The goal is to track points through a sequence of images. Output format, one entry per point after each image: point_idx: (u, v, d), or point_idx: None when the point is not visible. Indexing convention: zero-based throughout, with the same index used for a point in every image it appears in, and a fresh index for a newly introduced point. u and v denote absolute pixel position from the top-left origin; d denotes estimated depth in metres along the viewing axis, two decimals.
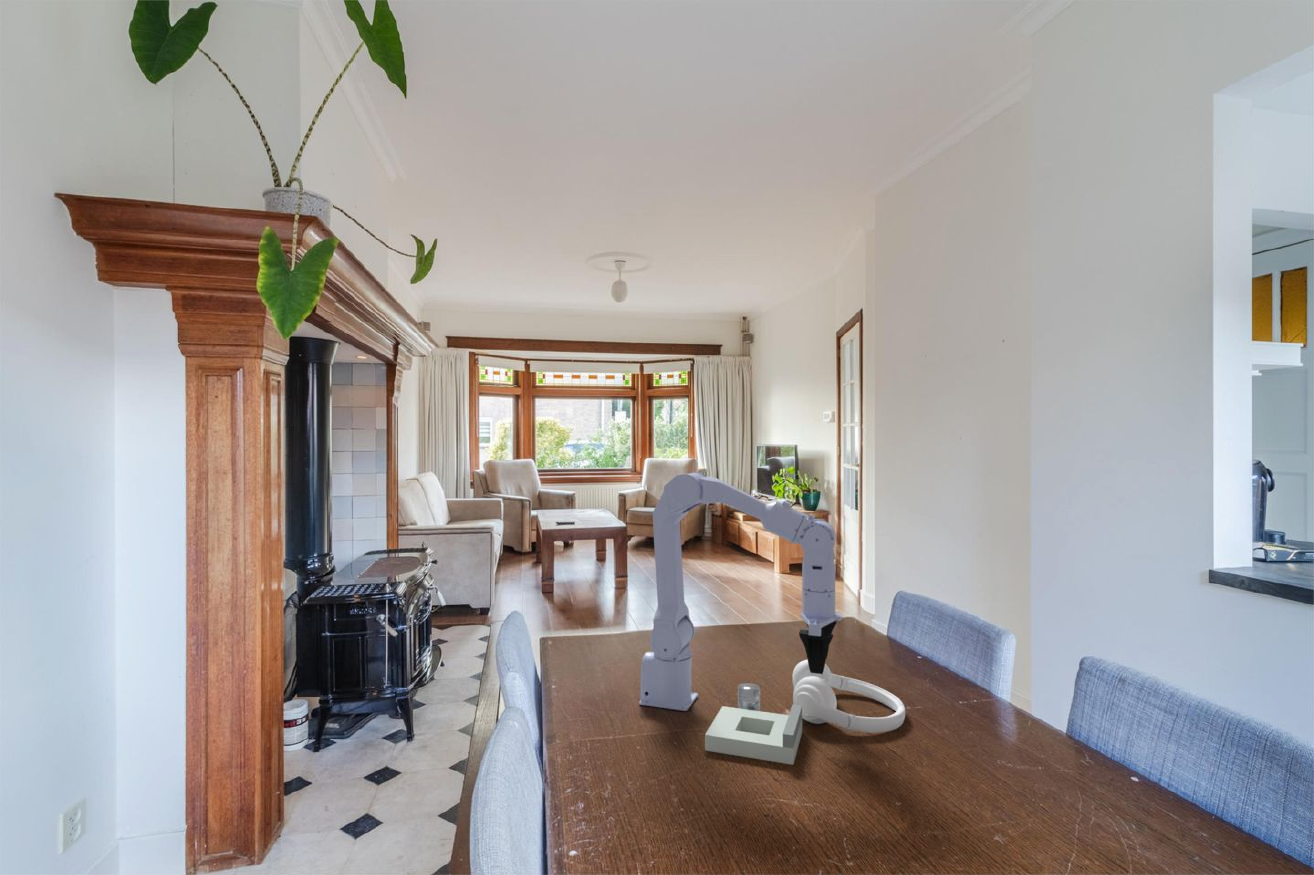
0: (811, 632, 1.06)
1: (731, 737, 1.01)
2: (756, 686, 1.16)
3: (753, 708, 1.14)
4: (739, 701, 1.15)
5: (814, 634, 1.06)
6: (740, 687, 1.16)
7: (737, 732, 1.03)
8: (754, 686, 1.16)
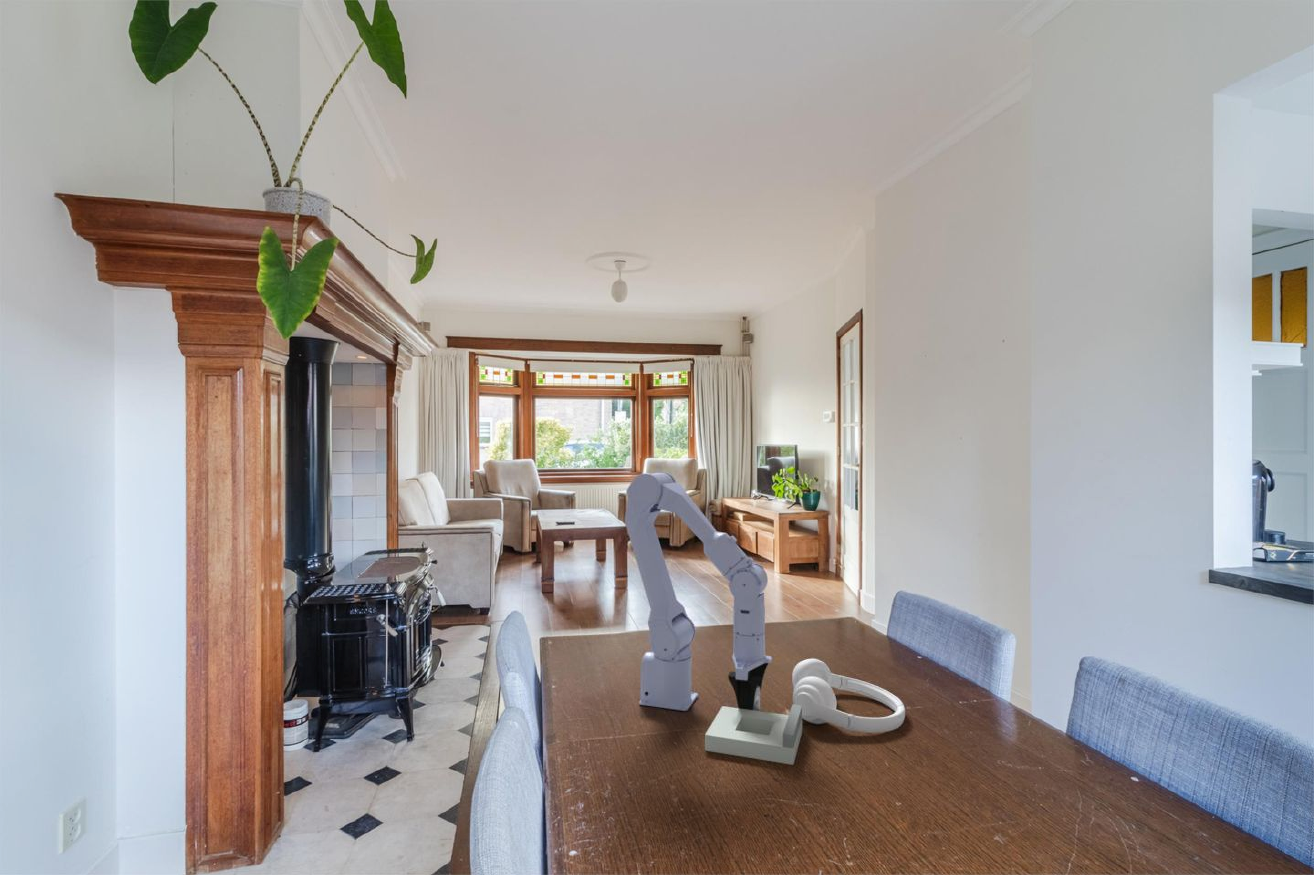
0: (738, 676, 1.09)
1: (731, 737, 1.01)
2: None
3: (753, 708, 1.14)
4: None
5: (740, 678, 1.09)
6: None
7: (737, 732, 1.03)
8: None
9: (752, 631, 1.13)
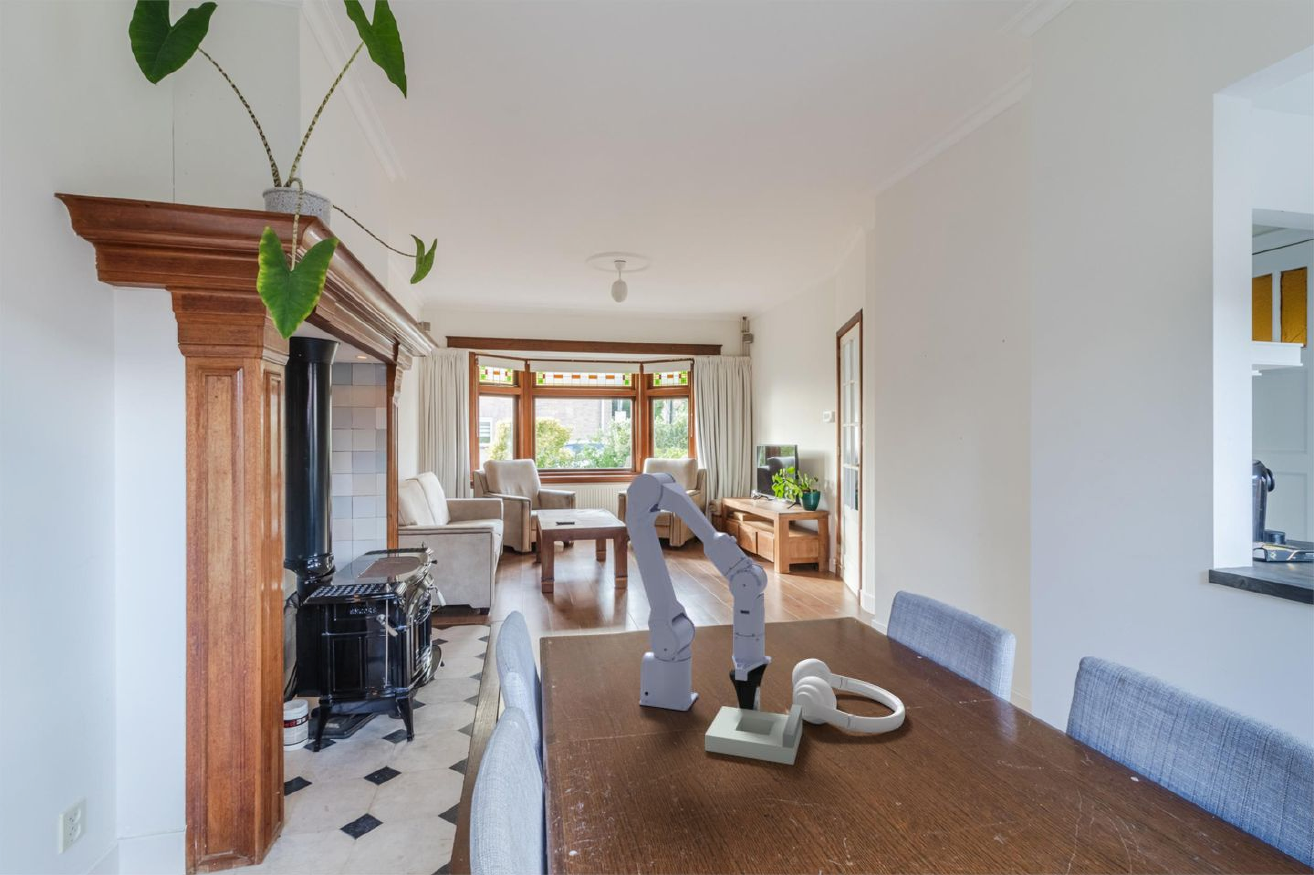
0: (737, 676, 1.09)
1: (731, 737, 1.01)
2: None
3: (753, 708, 1.14)
4: None
5: (740, 678, 1.09)
6: None
7: (737, 732, 1.03)
8: None
9: (752, 631, 1.13)
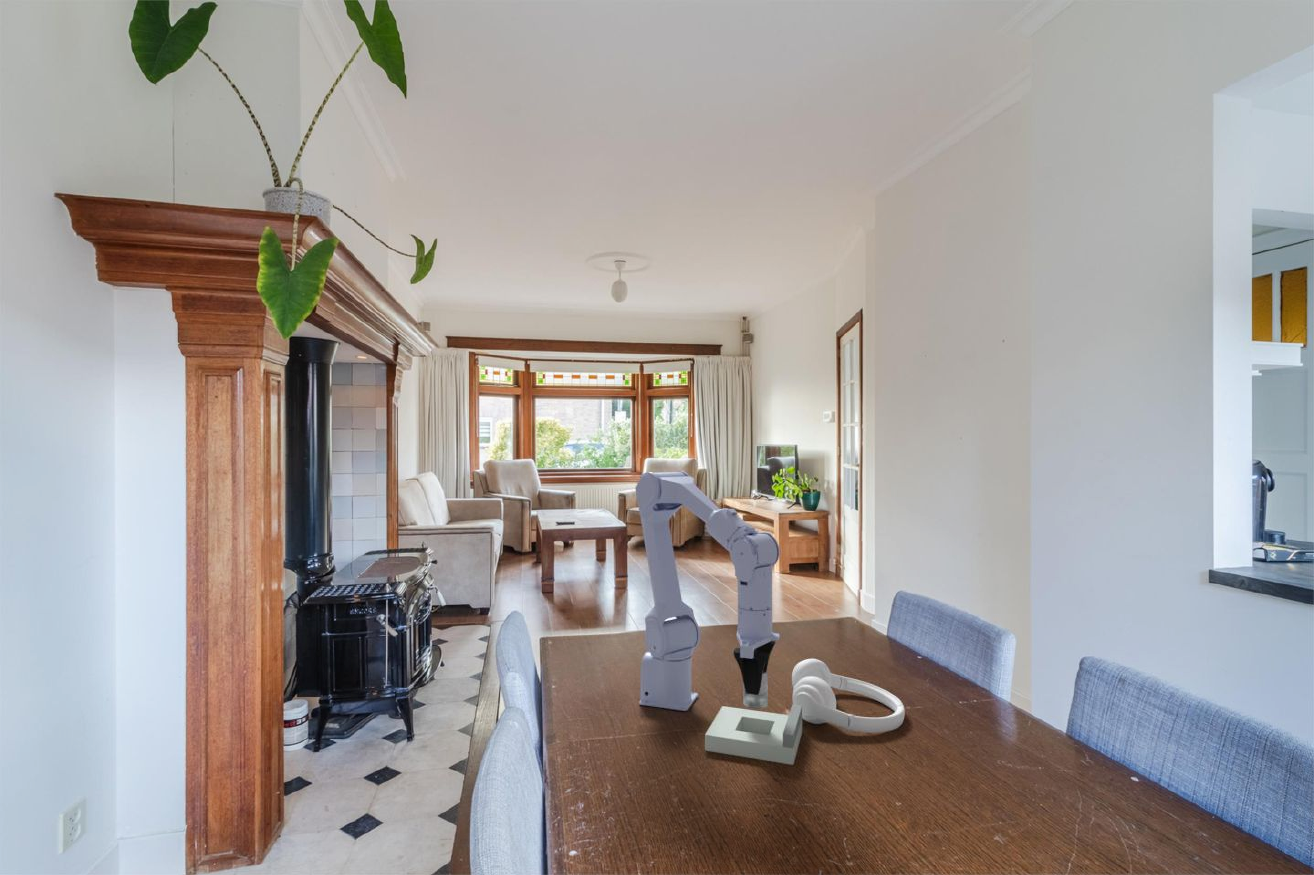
0: (743, 654, 0.99)
1: (731, 737, 1.01)
2: (763, 673, 1.06)
3: (759, 696, 1.03)
4: (744, 688, 1.05)
5: (746, 656, 0.99)
6: None
7: (737, 732, 1.03)
8: None
9: (750, 605, 1.03)
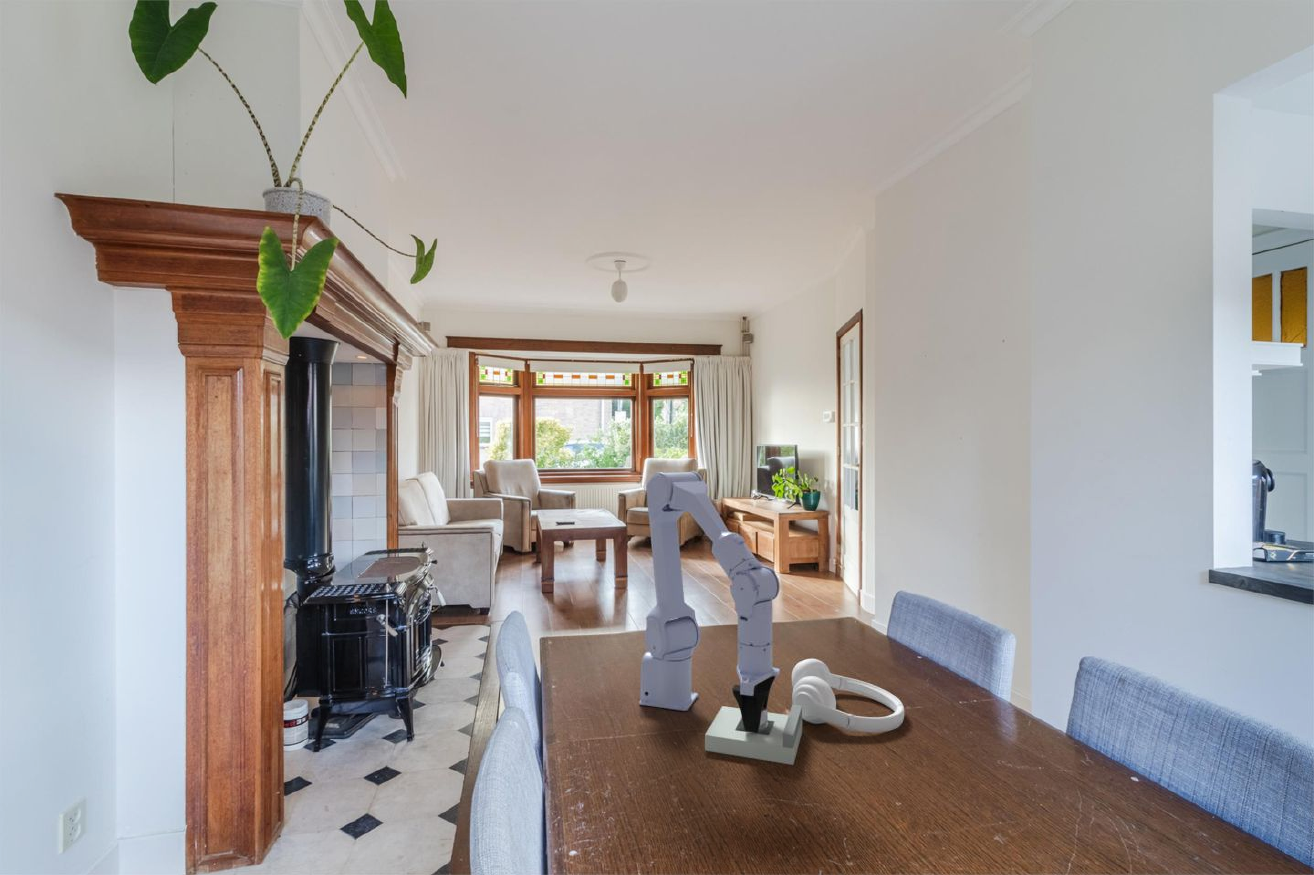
0: (743, 691, 0.99)
1: (731, 737, 1.01)
2: (764, 710, 1.06)
3: None
4: None
5: (746, 693, 0.99)
6: None
7: (737, 732, 1.03)
8: (762, 710, 1.06)
9: (750, 640, 1.03)
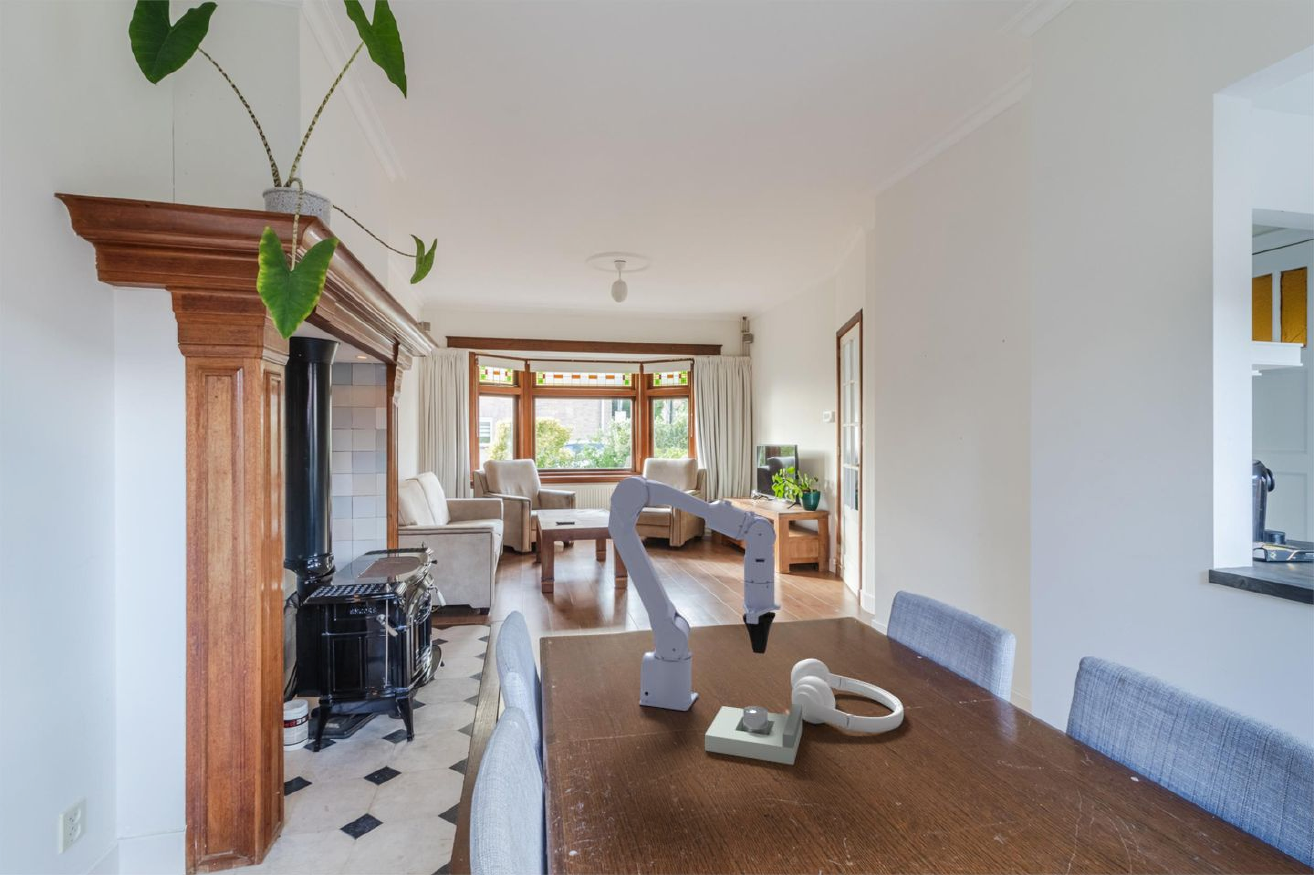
0: (749, 620, 1.14)
1: (731, 737, 1.01)
2: (764, 710, 1.06)
3: None
4: (744, 726, 1.05)
5: (751, 622, 1.14)
6: (746, 710, 1.05)
7: (737, 732, 1.03)
8: (762, 710, 1.06)
9: (767, 578, 1.18)
